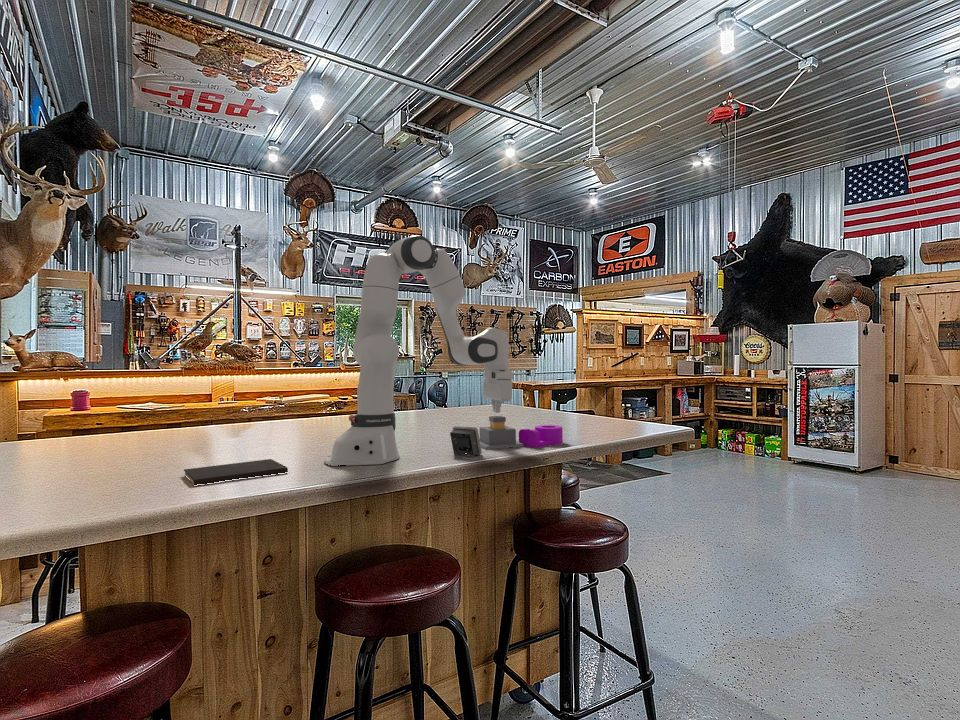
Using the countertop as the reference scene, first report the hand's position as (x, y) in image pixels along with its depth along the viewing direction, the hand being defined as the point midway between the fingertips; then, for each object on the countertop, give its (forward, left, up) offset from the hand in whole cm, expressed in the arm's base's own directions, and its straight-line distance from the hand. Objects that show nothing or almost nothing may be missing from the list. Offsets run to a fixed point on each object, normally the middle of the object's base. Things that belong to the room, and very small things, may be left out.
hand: (496, 412), depth 188 cm
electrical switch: (-16, -14, -12) cm, 24 cm away
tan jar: (0, 0, -11) cm, 11 cm away
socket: (0, 0, -12) cm, 12 cm away
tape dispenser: (+16, -4, -12) cm, 21 cm away
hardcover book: (-83, -18, -12) cm, 85 cm away
